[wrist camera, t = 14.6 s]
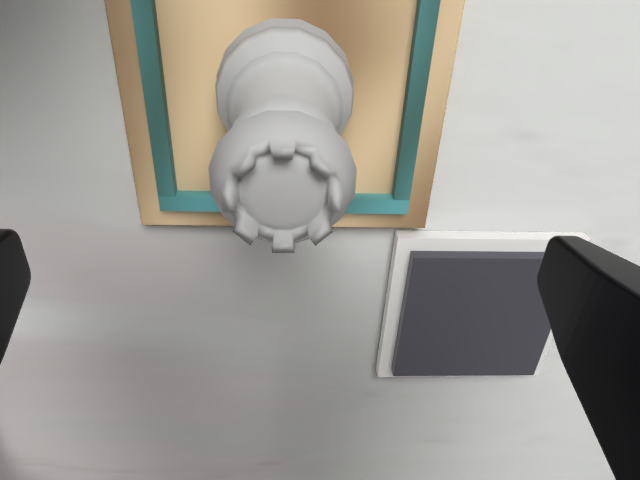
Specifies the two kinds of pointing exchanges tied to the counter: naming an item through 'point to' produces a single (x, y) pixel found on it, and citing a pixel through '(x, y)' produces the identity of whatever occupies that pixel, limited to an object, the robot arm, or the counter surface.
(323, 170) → the rook chess piece
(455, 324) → the ink pad
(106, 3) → the print board
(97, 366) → the counter surface
